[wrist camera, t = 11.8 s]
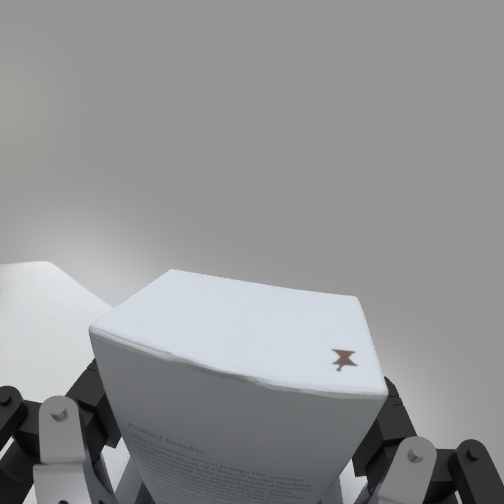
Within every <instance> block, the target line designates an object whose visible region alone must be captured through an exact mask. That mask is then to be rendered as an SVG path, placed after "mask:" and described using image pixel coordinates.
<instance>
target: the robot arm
mask: <svg viewBox="0 0 504 504" xmlns="http://www.w3.org/2000/svg"><path fill="white" fill-rule="evenodd" d="M384 379H385V382H386V385H387V388H388V393H389V394H388V396H387V398H386V401H385V402H384V404H383V406H382V408H381V410H380V411H379V413H378V415H377V417H376V419H375V420H374V422H373V424H372V426H371V427H370V429H369V431H368V433H367V434H366V436H365V437H364V439H363V440H362V442H361V443H360V445H359V447H358V448H357V450H356V451H355V453H354V455H353V456H352V462H353V467H354V472H355V477H360V476H367V480H368V482H367V483H366V484H365V486H364V487H363V489H362V491H361V493H360V494H359V496H358V498H357V499H356V501H355V503H354V504H458V501H457V498H456V495H455V492H456V491H457V490H458V492H459V495H460V498H461V501H462V503H463V504H504V485H503V483H502V481H501V478H500V476H499V474H498V472H497V470H496V468H495V466H494V463H493V461H492V460H491V458H490V455H489V453H488V451H487V449H486V448H485V446H484V445H483V444H482V443H480V442H479V441H477V440H473V439H469V440H465V441H463V442H462V443H461V444H460V445H459V446H458V447H457V449H435V447H434V445H433V444H432V443H431V442H430V441H429V440H427V439H425V438H423V437H418V436H417V434H416V432H415V430H414V427H413V425H412V423H411V420H410V418H409V416H408V413H407V411H406V409H405V407H404V406H403V402H402V400H401V398H400V397H399V394H398V392H397V389H396V387H395V385H394V384H393V383H392V382H390V380H389V379H388V378H387V377H384ZM121 436H122V435H121V433H120V430H119V428H118V425H117V423H116V420H115V417H114V415H113V412H112V409H111V406H110V403H109V401H108V398H107V395H106V392H105V390H104V386H103V383H102V380H101V377H100V374H99V370H98V366H97V363H96V359H95V358H94V359H93V361H92V363H90V364H89V366H88V367H87V370H85V371H84V372H83V373H82V374H81V376H80V377H79V378H78V379H77V381H76V382H75V383H74V385H73V386H72V387H71V388H70V390H69V391H68V392H67V394H66V395H65V396H53V397H50V398H48V399H46V400H45V401H44V402H43V403H38V402H33V401H28V400H24V399H23V398H22V396H21V394H20V392H19V391H18V390H17V389H16V388H15V387H12V386H2V387H0V451H1V450H2V449H3V447H4V446H5V444H6V443H7V441H8V440H9V439H10V437H12V438H13V439H14V441H13V443H12V444H11V445H10V447H9V448H8V450H7V451H6V453H5V454H4V456H3V457H2V459H1V460H0V504H23V502H24V500H25V498H26V496H27V494H28V492H29V491H30V489H31V487H32V485H33V483H34V485H35V492H36V498H37V504H119V503H118V501H117V499H116V497H115V495H114V492H113V489H112V486H111V483H110V479H109V476H108V473H107V469H106V466H105V462H104V458H103V455H102V452H101V451H102V449H103V447H104V445H107V446H109V447H112V448H116V446H117V444H118V442H119V440H120V438H121Z"/></svg>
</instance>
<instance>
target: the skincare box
mask: <svg viewBox="0 0 504 504" xmlns="http://www.w3.org/2000/svg"><path fill="white" fill-rule="evenodd" d="M89 336H90V340H91V344H92V348H93V352H94V356H95V359H96V363H97V366H98V370H99V374H100V377H101V380H102V383H103V386H104V390H105V392H106V395H107V398H108V401H109V403H110V406H111V409H112V412H113V415H114V417H115V420H116V423H117V425H118V428H119V430H120V433H121V435H122V437H123V440H124V442H125V444H126V447H127V449H128V451H129V454H130V456H131V458H132V460H133V462H134V464H135V466H136V468H137V470H138V472H139V474H140V476H141V478H142V480H143V482H144V484H145V486H146V487H147V489H148V491H149V493H150V495H151V496H152V498H153V500H154V502H155V503H156V504H318V503H319V502H320V500H321V499H322V498H323V496H324V495H325V494H326V493H327V492H328V490H329V489H330V487H331V486H332V485H333V484H334V482H335V481H336V480H337V478H338V477H339V475H340V474H341V473H342V471H343V470H344V468H345V467H346V465H347V464H348V462H349V461H350V459H351V458H352V456H353V455H354V453H355V451H356V450H357V448H358V447H359V445H360V443H361V442H362V440H363V439H364V437H365V436H366V434H367V433H368V431H369V429H370V427H371V426H372V424H373V422H374V420H375V419H376V417H377V415H378V413H379V411H380V410H381V408H382V406H383V404H384V402H385V401H386V398H387V396H388V394H389V393H388V388H387V385H386V382H385V379H384V376H383V373H382V369H381V367H380V363H379V360H378V357H377V354H376V351H375V348H374V344H373V341H372V338H371V335H370V332H369V328H368V325H367V322H366V319H365V316H364V313H363V310H362V307H361V305H360V302H359V300H358V298H357V297H354V296H346V295H337V294H328V293H320V292H312V291H304V290H296V289H289V288H282V287H276V286H270V285H264V284H258V283H251V282H245V281H239V280H233V279H226V278H221V277H216V276H209V275H203V274H197V273H192V272H186V271H180V270H176V269H170V270H169V271H167V272H166V273H164V274H163V275H161V276H160V277H158V278H157V279H156V280H154V281H153V282H151V283H150V284H149V285H147V286H146V287H144V288H143V289H141V290H140V291H139V292H137V293H136V294H134V295H133V296H131V297H130V298H129V299H127V300H126V301H124V302H123V303H121V304H120V305H118V306H117V307H115V308H114V309H112V310H111V311H110V312H108V313H107V314H105V315H104V316H102V317H101V318H99V319H98V320H96V321H95V322H93V323H92V324H91V325H90V326H89Z"/></svg>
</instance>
